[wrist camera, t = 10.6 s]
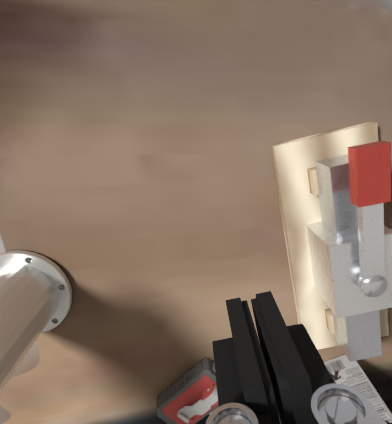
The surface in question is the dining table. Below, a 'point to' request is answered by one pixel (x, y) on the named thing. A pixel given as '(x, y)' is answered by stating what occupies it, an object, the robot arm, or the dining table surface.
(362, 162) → the lever
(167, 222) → the dining table surface
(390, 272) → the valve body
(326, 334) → the valve board
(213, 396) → the walkie-talkie
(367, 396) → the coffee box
